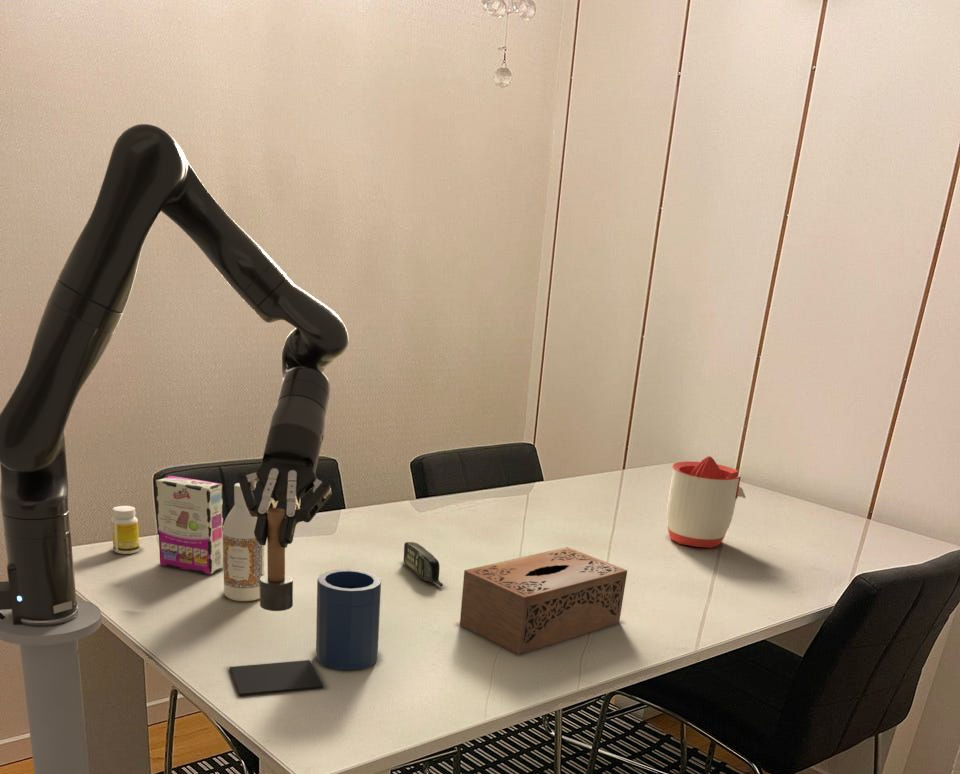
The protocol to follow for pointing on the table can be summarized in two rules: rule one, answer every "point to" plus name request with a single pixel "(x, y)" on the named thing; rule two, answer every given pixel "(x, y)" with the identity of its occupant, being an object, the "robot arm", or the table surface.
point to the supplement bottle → (125, 530)
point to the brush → (275, 568)
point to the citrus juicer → (701, 502)
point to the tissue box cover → (541, 598)
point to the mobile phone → (422, 562)
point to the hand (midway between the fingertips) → (272, 543)
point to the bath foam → (241, 552)
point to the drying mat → (275, 678)
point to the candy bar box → (190, 524)
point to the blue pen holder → (347, 619)
